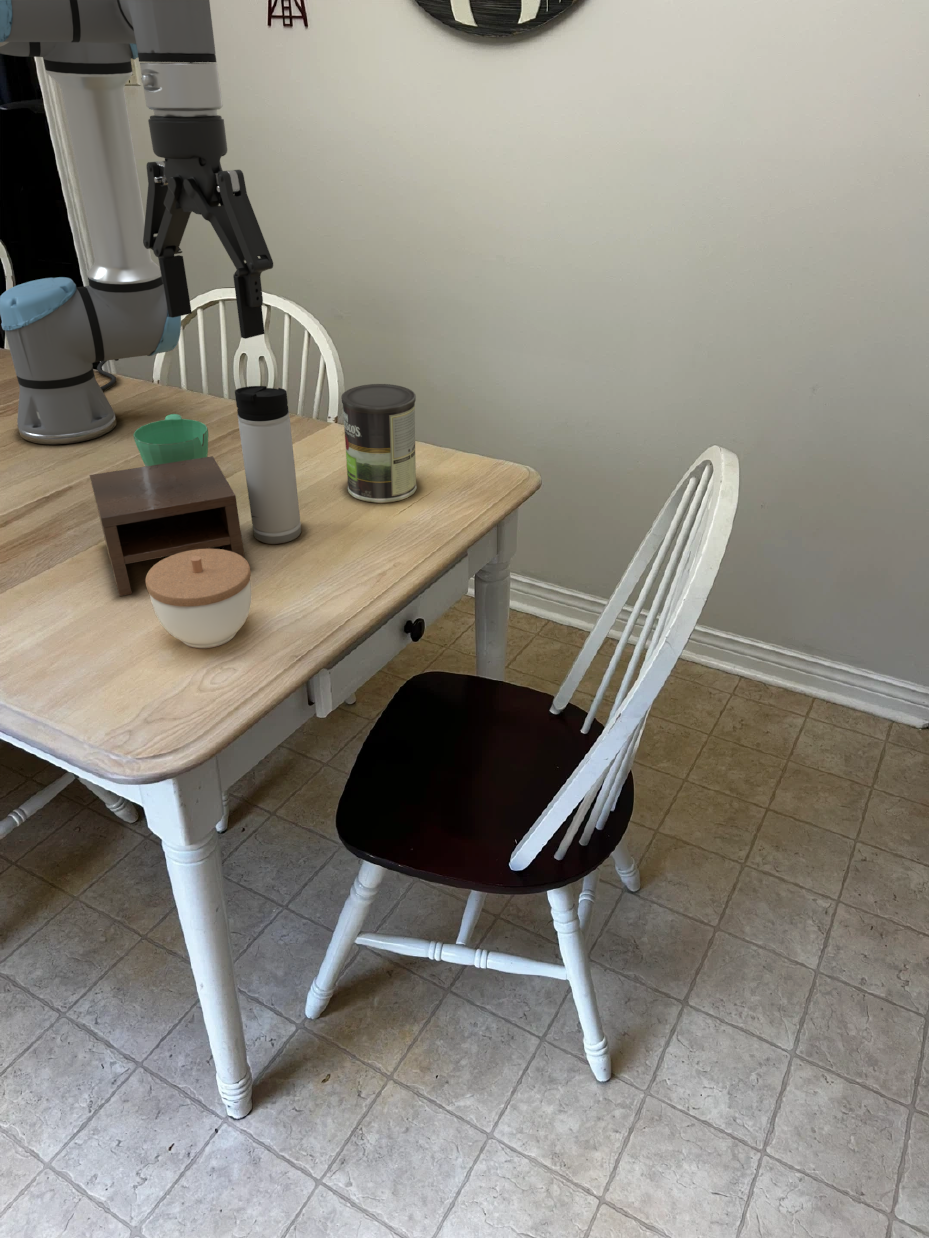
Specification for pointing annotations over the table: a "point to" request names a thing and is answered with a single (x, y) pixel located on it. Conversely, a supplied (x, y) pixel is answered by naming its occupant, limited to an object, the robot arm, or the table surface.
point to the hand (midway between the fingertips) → (215, 325)
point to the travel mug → (269, 463)
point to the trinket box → (201, 595)
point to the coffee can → (380, 442)
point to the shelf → (165, 512)
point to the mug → (171, 440)
